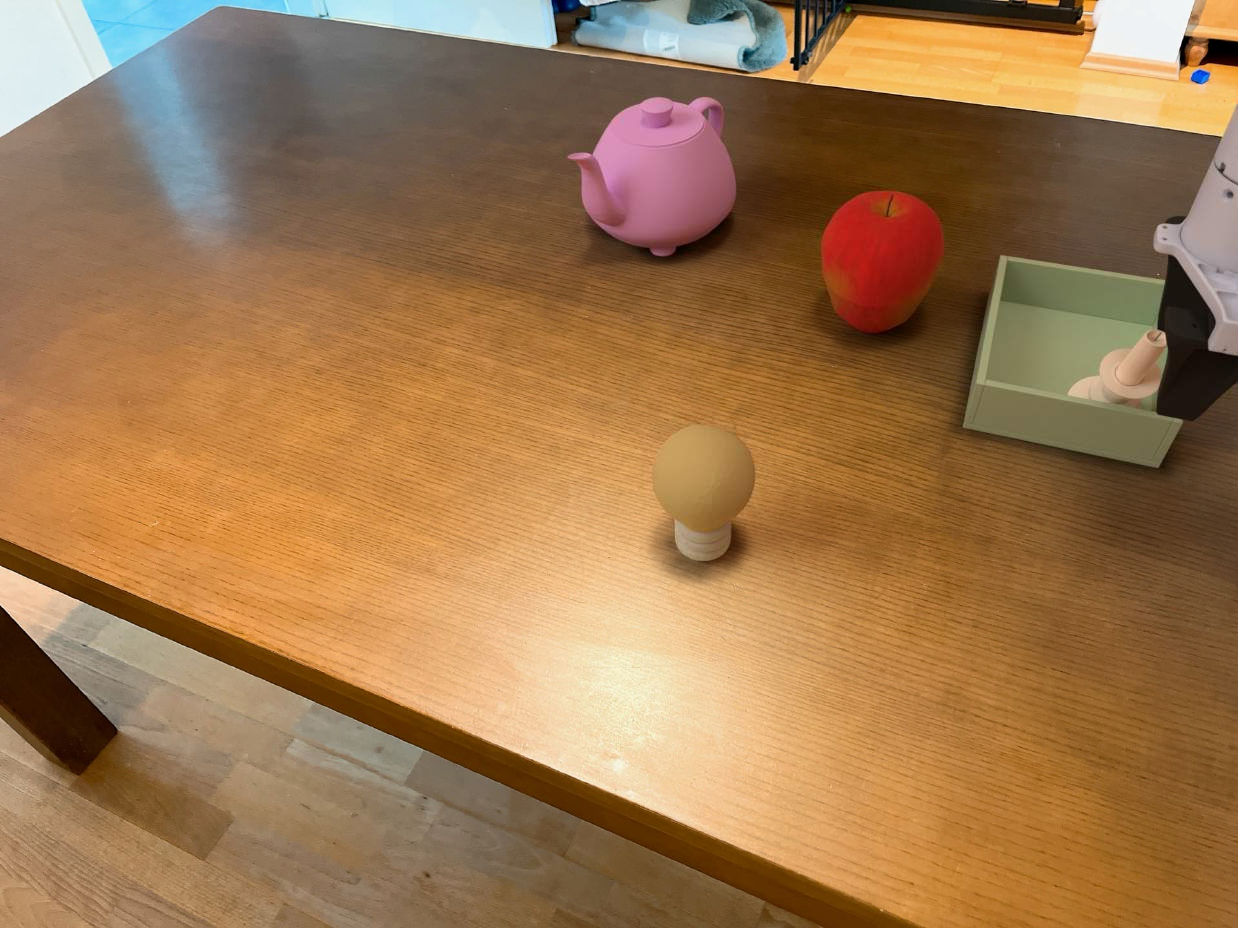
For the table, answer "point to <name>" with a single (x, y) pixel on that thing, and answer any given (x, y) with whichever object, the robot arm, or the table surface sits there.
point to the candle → (1126, 374)
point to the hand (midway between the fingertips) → (1174, 372)
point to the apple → (881, 258)
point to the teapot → (660, 174)
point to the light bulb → (703, 487)
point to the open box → (1065, 360)
